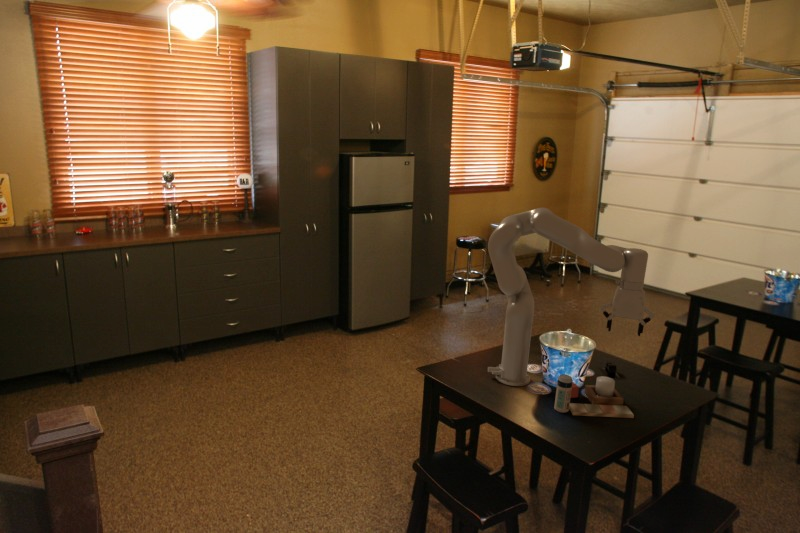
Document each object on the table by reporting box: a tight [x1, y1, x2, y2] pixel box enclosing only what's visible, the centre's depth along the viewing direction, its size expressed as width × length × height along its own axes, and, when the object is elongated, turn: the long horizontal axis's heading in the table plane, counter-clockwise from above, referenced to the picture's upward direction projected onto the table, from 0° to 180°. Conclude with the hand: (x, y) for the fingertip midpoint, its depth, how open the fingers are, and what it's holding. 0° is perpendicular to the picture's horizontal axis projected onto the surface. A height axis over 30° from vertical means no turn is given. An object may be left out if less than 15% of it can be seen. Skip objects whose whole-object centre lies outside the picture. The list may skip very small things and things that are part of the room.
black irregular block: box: [599, 361, 621, 380], centre depth 227 cm, size 12×7×5 cm, turn 176°
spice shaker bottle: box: [553, 374, 574, 414], centre depth 194 cm, size 5×5×12 cm
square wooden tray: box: [583, 384, 625, 406], centre depth 204 cm, size 10×10×3 cm
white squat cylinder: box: [595, 375, 616, 397], centre depth 203 cm, size 6×6×5 cm
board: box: [569, 402, 635, 419], centre depth 195 cm, size 20×6×1 cm, turn 90°
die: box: [570, 381, 580, 399], centre depth 206 cm, size 4×4×4 cm
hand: (623, 332), depth 203 cm, fingers open, 9 cm apart
